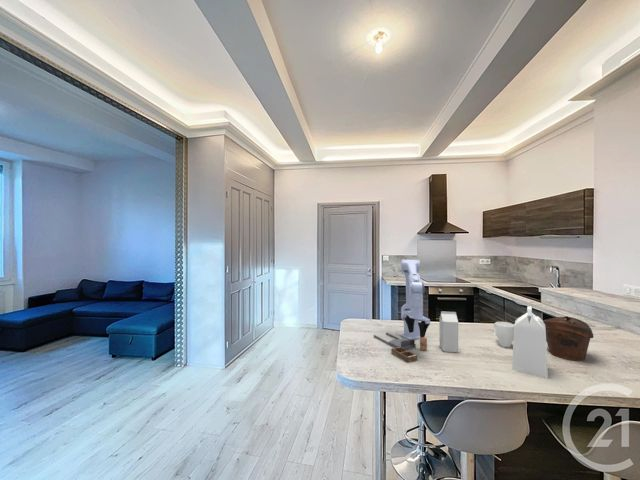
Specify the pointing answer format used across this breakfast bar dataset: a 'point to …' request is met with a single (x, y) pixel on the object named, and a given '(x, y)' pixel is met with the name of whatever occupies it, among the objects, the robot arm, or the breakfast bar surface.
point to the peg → (423, 344)
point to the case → (568, 337)
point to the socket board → (404, 354)
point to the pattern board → (390, 343)
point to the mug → (504, 333)
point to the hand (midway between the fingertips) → (416, 334)
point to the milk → (530, 345)
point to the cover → (403, 343)
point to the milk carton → (448, 331)
